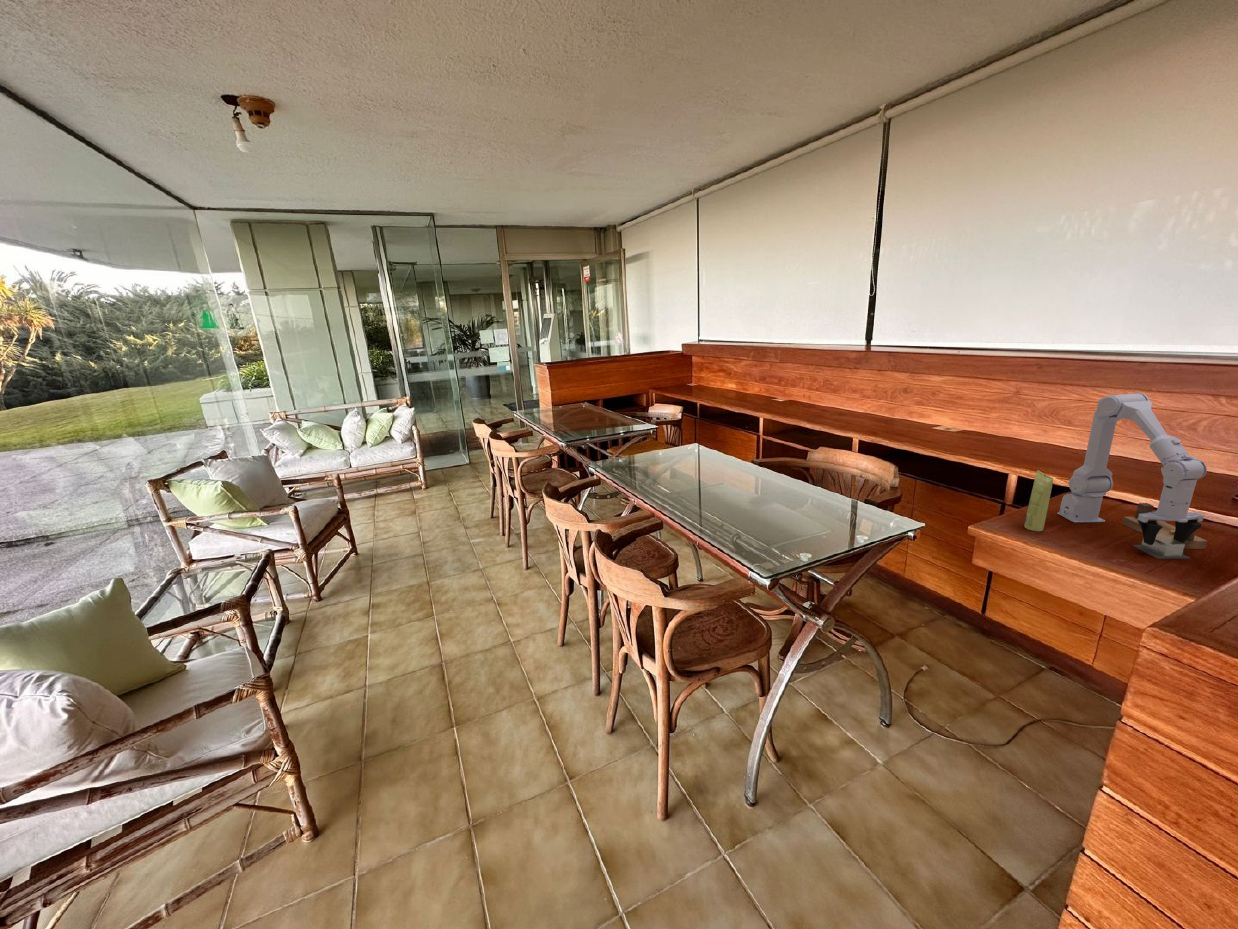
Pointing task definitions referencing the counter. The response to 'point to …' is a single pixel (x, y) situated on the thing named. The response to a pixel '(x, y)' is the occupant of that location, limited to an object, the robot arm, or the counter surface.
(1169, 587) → the counter surface
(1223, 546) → the counter surface
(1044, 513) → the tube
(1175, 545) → the lever cap
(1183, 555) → the rubber mat
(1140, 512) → the plane body
